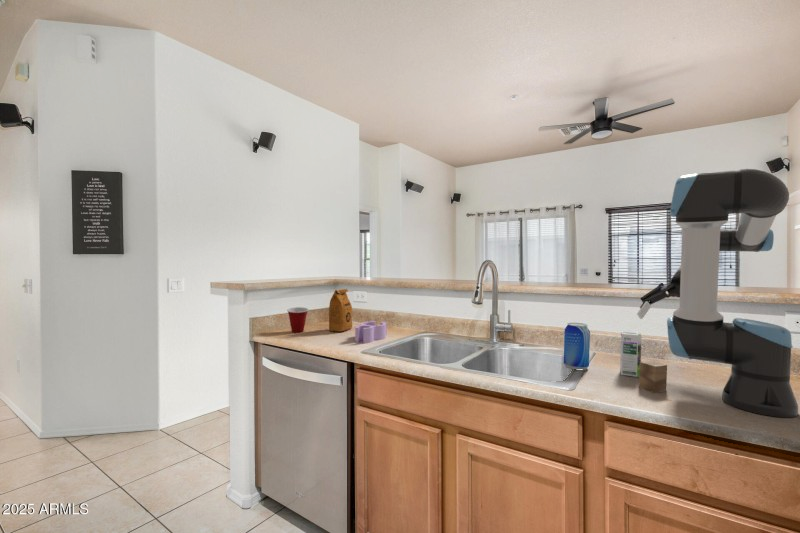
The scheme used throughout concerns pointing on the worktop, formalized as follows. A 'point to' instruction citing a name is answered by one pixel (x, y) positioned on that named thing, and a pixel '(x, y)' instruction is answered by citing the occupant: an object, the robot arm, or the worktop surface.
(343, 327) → the coffee package
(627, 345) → the syrup box
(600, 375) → the worktop surface
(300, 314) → the plastic cup
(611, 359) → the worktop surface
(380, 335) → the clip
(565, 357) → the blue canister
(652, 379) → the walnut block
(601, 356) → the worktop surface
